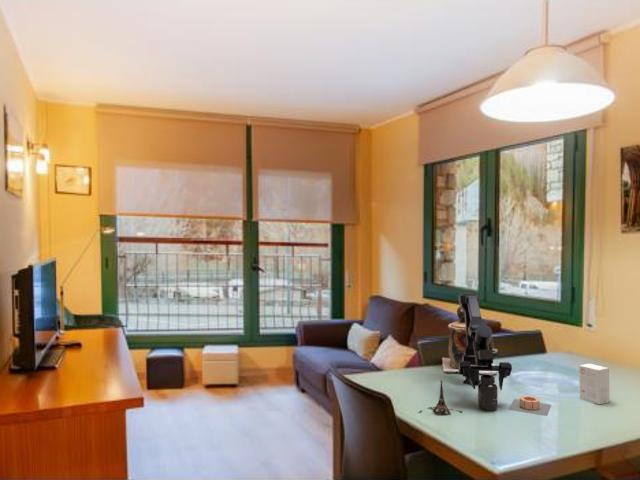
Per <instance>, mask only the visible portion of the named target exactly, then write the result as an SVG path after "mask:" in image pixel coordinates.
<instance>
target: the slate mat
mask: <svg viewBox="0 0 640 480" xmlns="http://www.w3.org/2000/svg"><path fill="white" fill-rule="evenodd" d="M551 407H552V404H549V403H541V402H540V409H539V410H527V409H523V408H521V407H520V399H517V398H514V399H513V400H512V402H511V404H510V406H509V407H508V409H507V410H509V411H515V412H521V413H526V414H531V415H538V416H544V417H548V415H549V412H550V409H551Z"/></svg>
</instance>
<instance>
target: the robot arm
mask: <svg viewBox="0 0 640 480" xmlns="http://www.w3.org/2000/svg"><path fill="white" fill-rule="evenodd" d="M480 299H481V298H480V295H478V294H476V293H473V292H472V293H471V292H470V293H469V292H467V293H466V292H465V293H463V292H462V293H461V295H458V304H459V307H461V309H462V311H463V312H464V313H465V326H466V340H467V347H466V349H465V351H464V355H463V357H462V361H460V362H459V368H458V371H459V372H458V375H459V376H460V375H461V376H462V377H465V380H463V384H468V385H471V386H472V388H473V390H476V386H478V385H479V383H481V379H480V374H479V371H498V372H497V373H498V386H499V387H498V388H499V390H500V391H502V389H503V383H504V379H507V378H508V377H510V376H511V372H512V371H513V367H512V364H511V363H510V362H509V361H507V362H505V361H500V362H499V363H498V365H495V366H492V364H493V363H494V359H498V358H499V351H498V348H491V349H490V345H489V344H490V343H491V339H492V336H493V329H492V328H491V327H490V326H488V325H487V321H485V320H484V319H483V317H482V313H481V310H480V306H479V305H480V303H481V302H480V301H481V300H480Z"/></svg>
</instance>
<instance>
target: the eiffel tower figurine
mask: <svg viewBox="0 0 640 480" xmlns="http://www.w3.org/2000/svg"><path fill="white" fill-rule="evenodd" d="M439 388H440V389H439V390H440V392H439V398H438V402H437V403H436V406H429V407H427V410H431V411H432V413H434V414H435V416H437V417H443V416H452V415H453V414H452V413H451V411H454V409H452V408H448V405H447V404H446V402H445V398H444V391H443V390H444V389H443V379H442V377H441V378H440V387H439ZM455 411H456V412H459V413H460V414H463V412H464V411H462V410H457V409H455ZM422 412H423V410H422V409H421V410H420V411H418V413H419V414H421V413H422Z"/></svg>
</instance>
